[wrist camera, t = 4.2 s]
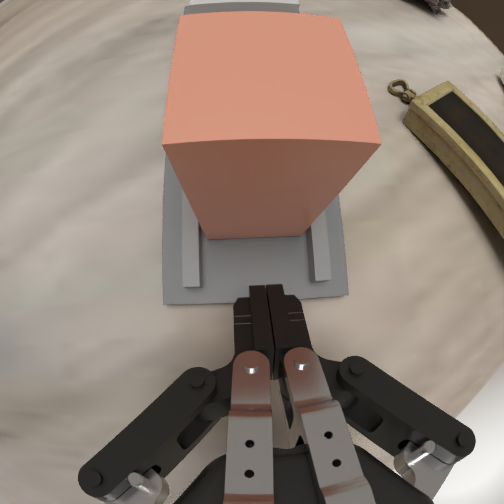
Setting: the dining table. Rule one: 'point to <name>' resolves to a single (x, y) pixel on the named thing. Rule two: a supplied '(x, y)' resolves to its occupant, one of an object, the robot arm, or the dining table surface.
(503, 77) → the white seashell
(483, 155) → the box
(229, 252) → the grey slide track
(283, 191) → the salmon rectangular block
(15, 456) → the dining table surface
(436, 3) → the mineral specimen
